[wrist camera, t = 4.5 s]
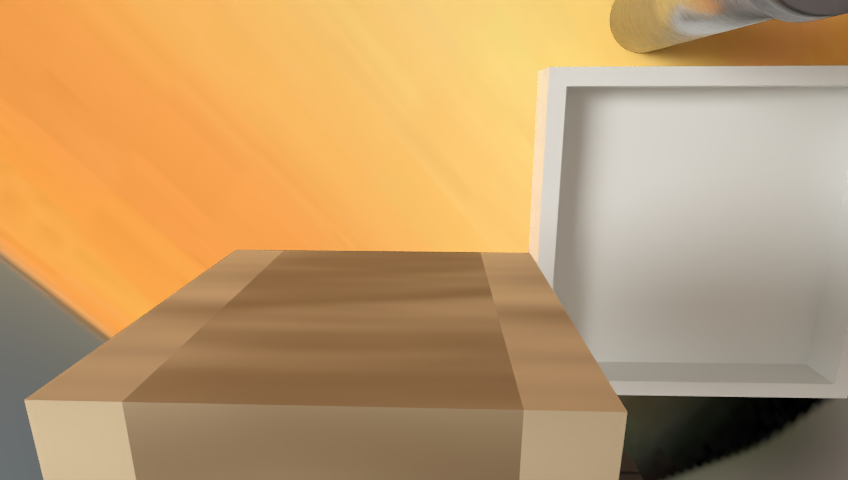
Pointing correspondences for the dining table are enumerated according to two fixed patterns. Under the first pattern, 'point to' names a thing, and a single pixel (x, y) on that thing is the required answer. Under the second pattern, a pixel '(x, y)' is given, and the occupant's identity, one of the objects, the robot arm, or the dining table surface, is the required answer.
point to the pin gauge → (704, 18)
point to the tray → (698, 224)
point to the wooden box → (339, 377)
